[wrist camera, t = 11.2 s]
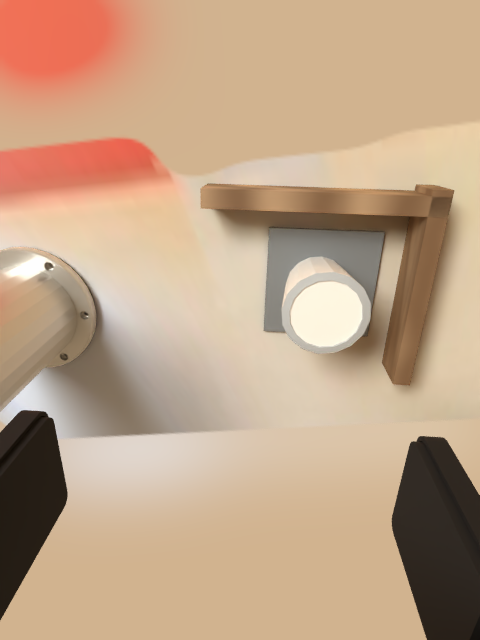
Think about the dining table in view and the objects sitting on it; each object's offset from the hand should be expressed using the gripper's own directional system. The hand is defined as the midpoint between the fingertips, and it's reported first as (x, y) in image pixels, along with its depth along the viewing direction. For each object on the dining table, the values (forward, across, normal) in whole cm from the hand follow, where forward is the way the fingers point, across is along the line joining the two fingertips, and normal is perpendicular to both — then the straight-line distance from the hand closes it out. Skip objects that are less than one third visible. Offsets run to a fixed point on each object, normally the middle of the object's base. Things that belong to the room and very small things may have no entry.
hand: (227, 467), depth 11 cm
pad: (+28, -6, +4) cm, 29 cm away
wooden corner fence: (+28, -5, +4) cm, 29 cm away
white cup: (+28, -6, +4) cm, 29 cm away
